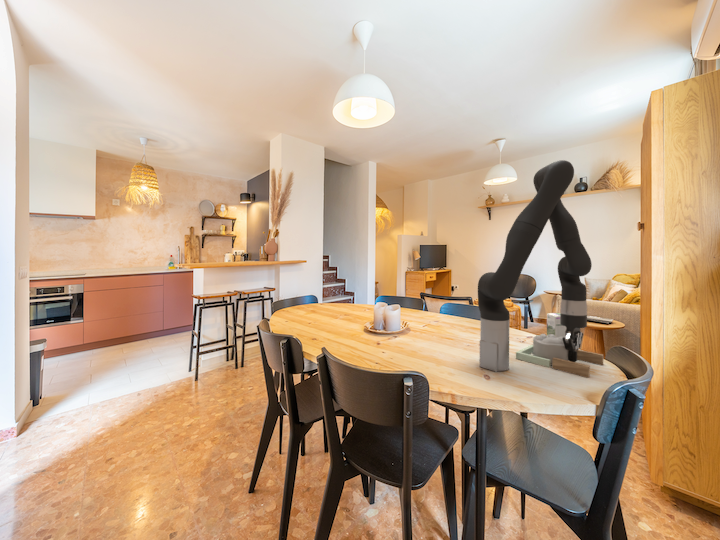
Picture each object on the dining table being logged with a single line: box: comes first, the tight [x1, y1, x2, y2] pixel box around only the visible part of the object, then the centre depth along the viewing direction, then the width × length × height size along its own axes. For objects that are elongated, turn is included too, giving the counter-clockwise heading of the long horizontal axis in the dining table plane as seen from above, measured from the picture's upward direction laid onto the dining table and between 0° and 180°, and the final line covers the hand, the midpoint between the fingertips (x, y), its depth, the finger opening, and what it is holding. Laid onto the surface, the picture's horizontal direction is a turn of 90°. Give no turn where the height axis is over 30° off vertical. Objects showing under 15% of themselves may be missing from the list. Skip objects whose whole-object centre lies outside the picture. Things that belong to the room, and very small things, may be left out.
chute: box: [551, 349, 604, 378], centre depth 100 cm, size 17×10×4 cm, turn 127°
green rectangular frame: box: [515, 343, 552, 368], centre depth 109 cm, size 17×11×2 cm, turn 127°
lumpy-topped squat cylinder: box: [532, 333, 569, 365], centre depth 108 cm, size 10×13×9 cm
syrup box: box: [546, 312, 566, 338], centre depth 119 cm, size 6×6×14 cm
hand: (572, 361), depth 101 cm, fingers closed
